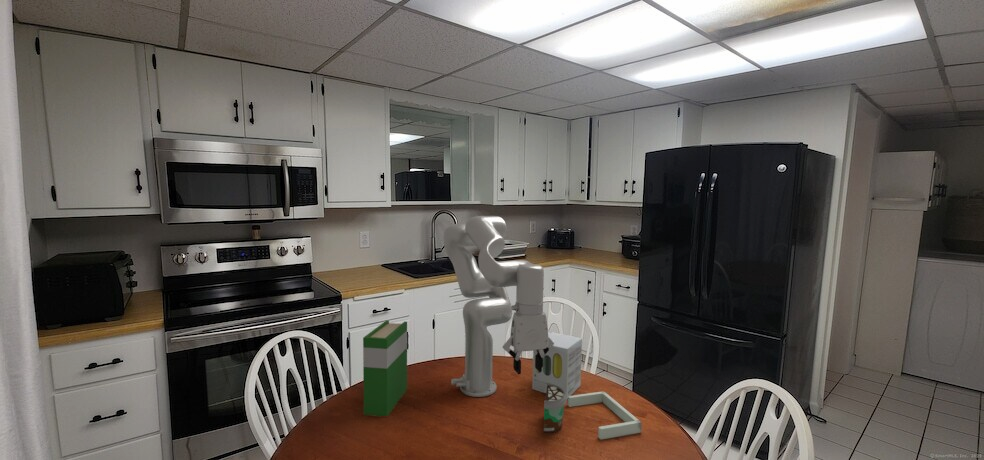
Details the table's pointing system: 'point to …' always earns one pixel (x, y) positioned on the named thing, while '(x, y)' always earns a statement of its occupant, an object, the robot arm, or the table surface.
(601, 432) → the bay
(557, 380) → the supplement box
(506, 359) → the table surface
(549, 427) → the food container
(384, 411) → the hardback book
